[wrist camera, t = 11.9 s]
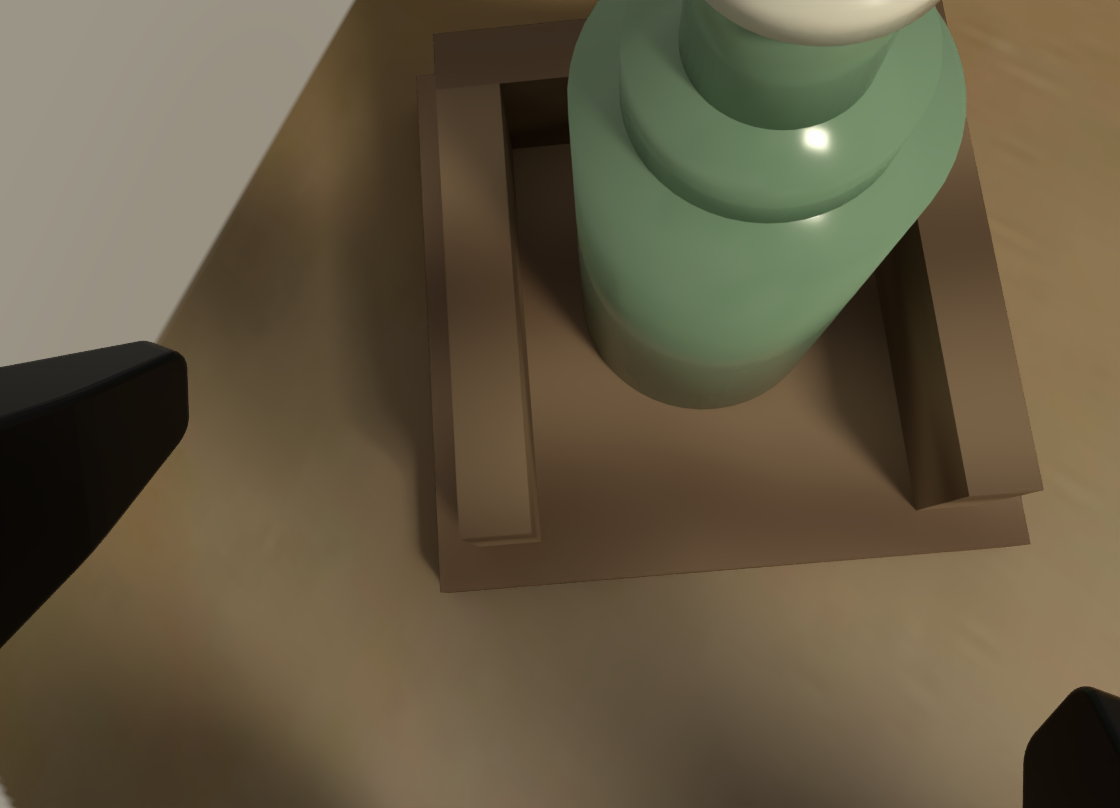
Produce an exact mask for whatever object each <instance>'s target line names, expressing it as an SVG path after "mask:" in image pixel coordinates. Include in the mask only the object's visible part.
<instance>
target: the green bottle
mask: <svg viewBox="0 0 1120 808" xmlns="http://www.w3.org/2000/svg"><path fill="white" fill-rule="evenodd" d="M939 1H940V0H599V1H598V2H597V4H596V5H595V7H594V9H593V10H592V12H591V14H590V15H589V17H588V19H587V20H586V22H585V24H584V26H583V28H582V31H581V33H580V35H579V38H578V40H577V42H576V45H575V49H574V53H573V56H572V60H571V64H570V70H569V79H568V87H567V93H568V117H569V131H570V144H571V157H572V171H573V184H574V197H575V211H576V224H577V237H578V251H579V264H580V277H581V291H582V304H583V311H584V317H585V322H586V325H587V329H588V332H589V335H590V337H591V339H592V341H593V344H594V346H595V348H596V350H597V351H598V353H599V354H600V356H601V357H602V359H603V360H604V362H605V363H606V364H607V365H608V366H609V368H610V369H611V370H612V371H613V372H614V373H615V374H616V375H617V376H618V377H619V378H620V379H621V380H623V381H624V382H625V383H626V384H627V385H629V386H630V387H632V388H633V389H635V390H636V391H638V392H639V393H641V394H643V395H645V396H647V397H649V398H651V399H653V400H656V401H659V402H662V403H664V404H667V405H671V406H676V407H680V408H688V409H699V410H701V409H718V408H724V407H730V406H734V405H737V404H740V403H744V402H747V401H749V400H751V399H753V398H756V397H758V396H760V395H762V394H763V393H765V392H766V391H768V390H770V389H771V388H773V387H774V386H775V385H777V384H778V383H779V382H780V381H782V380H783V379H784V378H785V377H786V376H787V375H788V374H789V373H790V372H791V371H792V370H793V368H794V367H795V366H796V365H797V364H798V363H799V361H800V360H801V359H802V358H803V357H804V355H805V354H806V353H807V352H808V351H809V349H810V348H811V347H812V346H813V344H814V343H815V342H816V341H817V340H818V338H819V337H820V336H821V335H822V334H823V332H824V331H825V330H826V329H827V327H828V326H829V325H830V324H831V323H832V321H833V320H834V319H835V318H836V317H837V315H838V314H839V313H840V312H841V311H842V309H843V308H844V307H845V306H846V304H847V303H848V302H849V301H850V300H851V298H852V297H853V296H854V295H855V294H856V292H857V291H858V290H859V289H860V287H861V286H862V285H863V284H864V283H865V281H866V280H867V279H868V278H869V277H870V275H871V274H872V273H873V272H874V271H875V269H876V268H877V267H878V266H879V264H880V263H881V262H882V261H883V260H884V258H885V257H886V256H887V255H888V254H889V252H890V251H891V250H892V249H893V247H894V246H895V245H896V244H897V243H898V241H899V240H900V239H901V238H902V237H903V235H904V234H905V233H906V232H907V231H908V229H909V228H910V227H911V226H912V224H913V223H914V222H915V221H916V220H917V218H918V217H919V216H920V215H921V214H922V212H923V211H924V210H925V209H926V207H927V206H928V205H929V204H930V203H931V201H932V200H933V198H934V197H935V195H936V194H937V192H938V191H939V190H940V188H941V187H942V185H943V184H944V182H945V180H946V178H947V176H948V174H949V172H950V170H951V168H952V166H953V164H954V162H955V160H956V157H957V153H958V150H959V147H960V144H961V141H962V137H963V131H964V124H965V118H966V87H965V80H964V73H963V67H962V64H961V60H960V57H959V54H958V51H957V47H956V44H955V42H954V40H953V38H952V36H951V34H950V32H949V29H948V27H947V25H946V23H945V22H944V20H943V19H942V17H941V15H940V14H939V12H938V11H937V9H936V6H935V5H936V4H937V3H938V2H939Z"/></svg>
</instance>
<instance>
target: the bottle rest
mask: <svg viewBox="0 0 1120 808" xmlns="http://www.w3.org/2000/svg"><path fill="white" fill-rule="evenodd" d="M935 6H936V9H937V11H938V12H939V14H940V15H941V17H942V19H943V20H944V22H945V23H946V25H947V22H946V17H945V13H944V8H943V3H942V0H940V1H939V2H938V3H937V4H936V5H935ZM586 20H587V19H578V20H568V21H558V22H548V23H538V24H528V25H518V26H508V27H499V28H489V29H479V30H469V31H459V32H449V33H439V34H433V41H434V61H435V74H432V75H422V76H417V98H418V119H419V141H420V162H421V184H422V205H423V227H424V248H425V270H426V291H427V313H428V334H429V356H430V378H431V399H432V421H433V442H434V464H435V485H436V507H437V528H438V550H439V571H440V592H443V593H451V592H463V591H475V590H487V589H500V588H512V587H524V586H536V585H549V584H561V583H573V582H585V581H597V580H610V579H622V578H634V577H646V576H658V575H671V574H683V573H695V572H707V571H720V570H732V569H744V568H756V567H768V566H781V565H793V564H805V563H817V562H830V561H842V560H854V559H866V558H878V557H891V556H903V555H915V554H927V553H940V552H952V551H964V550H976V549H988V548H1001V547H1011V546H1019V545H1028V544H1030V539H1029V534H1028V529H1027V524H1026V519H1025V514H1024V509H1023V504H1022V499H1021V495H1025V494H1029V493H1033V492H1037V491H1042V490H1044V489H1043V484H1042V479H1041V475H1040V470H1039V465H1038V460H1037V455H1036V451H1035V446H1034V441H1033V436H1032V431H1031V427H1030V422H1029V417H1028V412H1027V407H1026V402H1025V398H1024V393H1023V388H1022V383H1021V378H1020V374H1019V369H1018V364H1017V359H1016V354H1015V350H1014V345H1013V340H1012V335H1011V330H1010V325H1009V321H1008V316H1007V311H1006V306H1005V301H1004V297H1003V292H1002V287H1001V282H1000V277H999V272H998V268H997V263H996V258H995V253H994V248H993V244H992V239H991V234H990V229H989V224H988V220H987V215H986V210H985V205H984V200H983V195H982V191H981V186H980V181H979V176H978V171H977V167H976V162H975V157H974V152H973V147H972V143H971V138H970V133H969V128H968V123H967V118H965V124H964V131H963V137H962V141H961V144H960V147H959V150H958V153H957V157H956V160H955V162H954V164H953V166H952V168H951V170H950V172H949V174H948V176H947V178H946V180H945V182H944V184H943V185H942V187H941V188H940V190H939V191H938V192H937V194H936V195H935V197H934V198H933V200H932V201H931V203H930V204H929V205H928V206H927V207H926V209H925V210H924V211H923V212H922V214H921V215H920V216H919V217H918V218H917V220H916V221H915V222H914V223H913V224H912V226H911V227H910V228H909V229H908V231H907V232H906V233H905V234H904V235H903V237H902V238H901V239H900V240H899V241H898V243H897V244H896V245H895V246H894V247H893V249H892V250H891V251H890V252H889V254H888V255H887V256H886V257H885V258H884V260H883V261H882V262H881V263H880V264H879V266H878V267H877V268H876V269H875V271H874V272H873V273H872V274H871V275H870V277H869V278H868V279H867V280H866V281H865V283H864V284H863V285H862V286H861V287H860V289H859V290H858V291H857V292H856V294H855V295H854V296H853V297H852V298H851V300H850V301H849V302H848V303H847V304H846V306H845V307H844V308H843V309H842V311H841V312H840V313H839V314H838V315H837V317H836V318H835V319H834V320H833V321H832V323H831V324H830V325H829V326H828V327H827V329H826V330H825V331H824V332H823V334H822V335H821V336H820V337H819V338H818V340H817V341H816V342H815V343H814V344H813V346H812V347H811V348H810V349H809V351H808V352H807V353H806V354H805V355H804V357H803V358H802V359H801V360H800V361H799V363H798V364H797V365H796V366H795V367H794V368H793V370H792V371H791V372H790V373H789V374H788V375H787V376H786V377H785V378H784V379H783V380H782V381H780V382H779V383H778V384H777V385H775V386H774V387H773V388H771V389H770V390H768V391H766V392H765V393H763V394H762V395H760V396H758V397H756V398H753V399H751V400H749V401H747V402H744V403H740V404H737V405H734V406H730V407H724V408H718V409H701V410H699V409H688V408H680V407H676V406H671V405H667V404H664V403H662V402H659V401H656V400H653V399H651V398H649V397H647V396H645V395H643V394H641V393H639V392H638V391H636V390H635V389H633V388H632V387H630V386H629V385H627V384H626V383H625V382H624V381H623V380H621V379H620V378H619V377H618V376H617V375H616V374H615V373H614V372H613V371H612V370H611V369H610V368H609V366H608V365H607V364H606V363H605V362H604V360H603V359H602V357H601V356H600V354H599V353H598V351H597V350H596V348H595V346H594V344H593V341H592V339H591V337H590V335H589V332H588V329H587V325H586V322H585V317H584V311H583V304H582V291H581V277H580V264H579V251H578V237H577V224H576V211H575V197H574V184H573V171H572V157H571V144H570V131H569V117H568V93H567V87H568V79H569V70H570V64H571V60H572V56H573V53H574V49H575V45H576V42H577V40H578V38H579V35H580V33H581V31H582V28H583V26H584V24H585V22H586Z"/></svg>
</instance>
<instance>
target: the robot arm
mask: <svg viewBox="0 0 1120 808" xmlns="http://www.w3.org/2000/svg"><path fill="white" fill-rule="evenodd" d="M188 421H189V405H188V377H187V364H186V361H185V359H184V357H183V356H182V355H181V354H180V353H178V352H177V351H174V350H171V349H169V348H166V347H163V346H160V345H158V344H155V343H152V342H148V341H138V342H133V343H127V344H122V345H116V346H111V347H106V348H100V349H95V350H90V351H85V352H79V353H74V354H68V355H63V356H58V357H52V358H47V359H42V360H36V361H31V362H26V363H21V364H15V365H10V366H4V367H0V648H1V647H2V646H3V645H4V644H5V643H6V642H7V641H8V640H9V639H10V638H11V637H12V636H13V635H14V634H15V633H16V632H17V631H18V630H19V629H20V628H21V627H22V626H23V625H24V623H25V622H26V621H27V620H28V619H29V618H30V617H31V616H32V615H33V614H34V613H35V612H36V611H37V610H38V609H39V608H40V607H41V606H42V605H43V604H44V603H45V602H46V601H47V600H48V599H49V598H50V597H51V596H52V595H53V593H54V592H55V591H56V590H57V589H58V588H59V587H60V586H61V585H62V584H63V583H64V582H65V581H66V580H67V579H68V578H69V577H70V576H71V575H72V574H73V573H74V572H75V571H76V570H77V569H78V568H79V566H80V565H81V564H82V563H83V562H84V561H85V560H86V559H87V558H88V557H89V556H90V554H91V553H92V552H93V551H94V550H95V549H96V548H97V546H98V545H99V544H100V543H101V542H102V540H103V539H104V538H105V537H106V536H107V534H108V533H109V532H110V531H111V529H112V528H113V527H114V526H115V524H116V523H117V522H118V521H119V519H120V518H121V517H122V515H123V514H124V513H125V512H126V510H127V509H128V508H129V506H130V505H131V504H132V503H133V501H134V500H135V499H136V497H137V496H138V495H139V494H140V492H141V491H142V490H143V489H144V487H145V486H146V485H147V483H148V482H149V481H150V480H151V478H152V477H153V476H154V474H155V473H156V472H157V471H158V469H159V468H160V467H161V466H162V464H163V463H164V462H165V460H166V459H167V458H168V457H169V455H170V454H171V453H172V451H173V450H174V449H175V448H176V446H177V445H178V444H179V442H180V441H181V439H182V438H183V436H184V434H185V432H186V429H187V426H188ZM1023 808H1120V697H1118V696H1115V695H1112V694H1110V693H1107V692H1104V691H1101V690H1099V689H1096V688H1093V687H1087V686H1083V687H1079V688H1077V689H1075V690H1073V691H1072V692H1071V693H1070V694H1069V695H1068V696H1067V697H1066V698H1065V700H1064V701H1063V702H1062V703H1061V704H1060V705H1059V706H1058V707H1057V709H1056V710H1055V711H1054V712H1053V713H1052V714H1051V715H1050V716H1049V718H1048V719H1047V720H1046V721H1045V722H1044V723H1043V724H1042V725H1041V727H1040V728H1039V729H1038V730H1037V731H1036V732H1035V733H1034V735H1033V736H1032V737H1031V739H1030V741H1029V743H1028V745H1027V748H1026V751H1025V755H1024V763H1023Z"/></svg>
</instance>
